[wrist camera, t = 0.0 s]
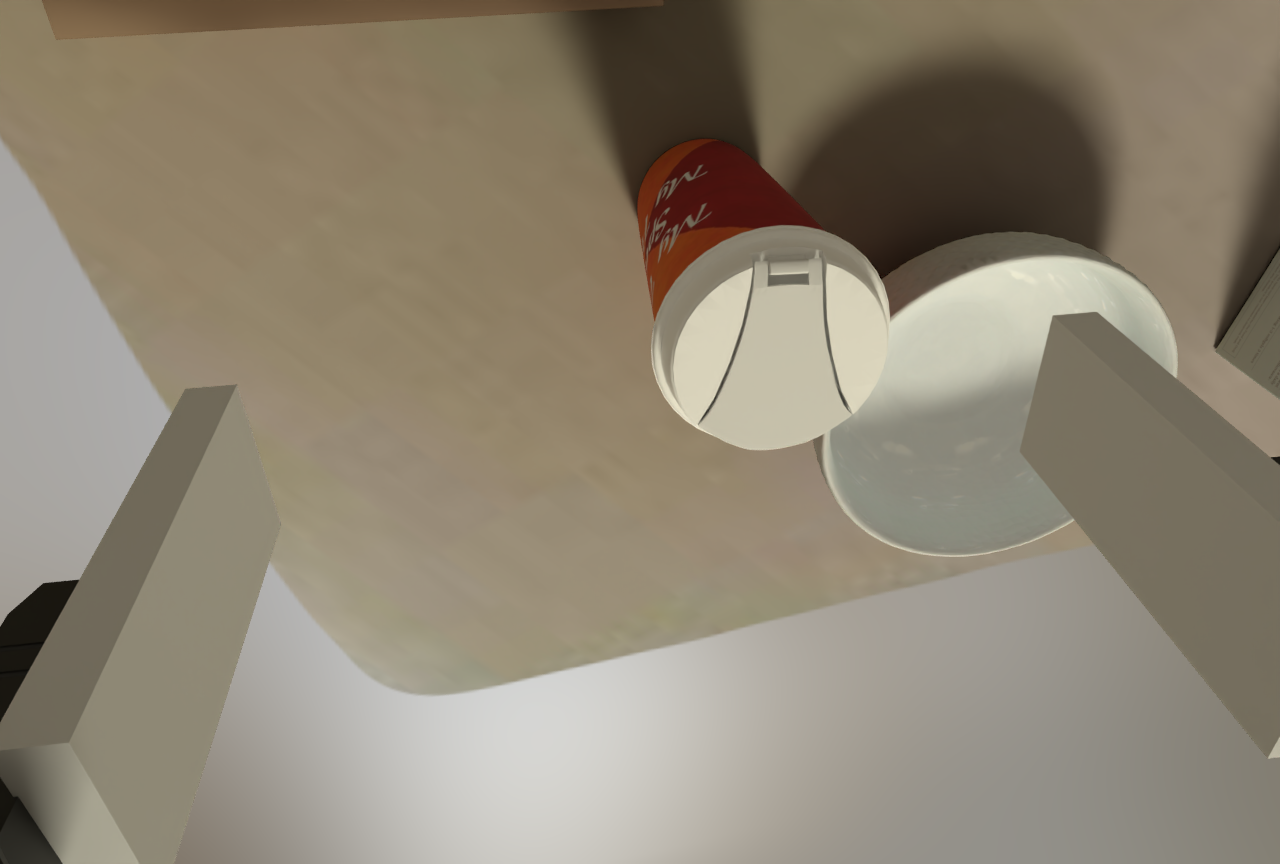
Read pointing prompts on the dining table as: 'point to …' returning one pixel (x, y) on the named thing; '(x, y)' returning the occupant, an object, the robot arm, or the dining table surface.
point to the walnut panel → (279, 13)
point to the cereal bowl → (973, 391)
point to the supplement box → (1258, 333)
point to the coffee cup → (754, 302)
